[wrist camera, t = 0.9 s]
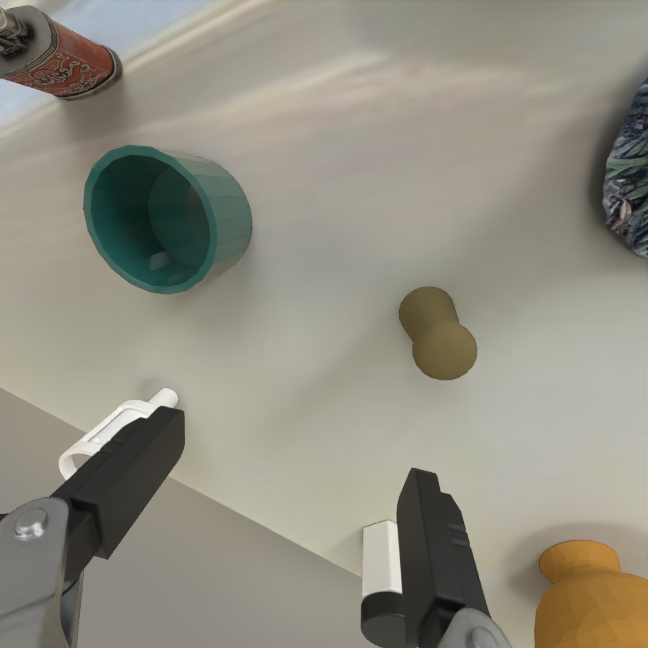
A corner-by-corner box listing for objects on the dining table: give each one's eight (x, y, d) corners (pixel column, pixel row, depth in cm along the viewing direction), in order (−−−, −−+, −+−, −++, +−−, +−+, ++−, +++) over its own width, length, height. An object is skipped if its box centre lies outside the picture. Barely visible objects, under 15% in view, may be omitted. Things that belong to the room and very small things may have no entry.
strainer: (136, 388, 46) (35, 471, 32) (168, 368, 44) (75, 449, 30) (168, 423, 48) (85, 516, 34) (201, 406, 45) (127, 498, 32)
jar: (377, 560, 53) (379, 655, 42) (351, 530, 51) (345, 622, 40) (425, 546, 50) (441, 645, 39) (400, 514, 48) (408, 609, 37)
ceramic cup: (129, 173, 34) (57, 168, 26) (230, 142, 31) (184, 125, 24) (173, 281, 38) (123, 304, 30) (265, 261, 36) (236, 280, 28)
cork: (395, 334, 37) (404, 387, 27) (403, 284, 35) (415, 322, 24) (448, 339, 36) (478, 395, 26) (459, 288, 34) (497, 329, 24)
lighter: (112, 39, 29) (-5, -30, 20) (128, 81, 31) (25, 34, 21) (46, 69, 31) (-89, 18, 22) (63, 108, 32) (-58, 75, 23)
